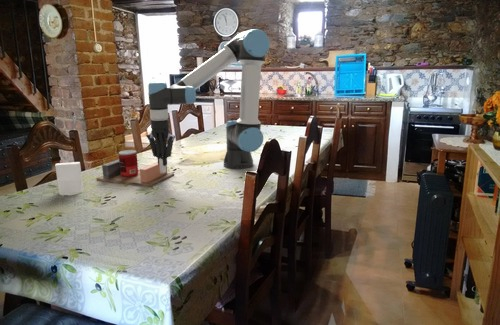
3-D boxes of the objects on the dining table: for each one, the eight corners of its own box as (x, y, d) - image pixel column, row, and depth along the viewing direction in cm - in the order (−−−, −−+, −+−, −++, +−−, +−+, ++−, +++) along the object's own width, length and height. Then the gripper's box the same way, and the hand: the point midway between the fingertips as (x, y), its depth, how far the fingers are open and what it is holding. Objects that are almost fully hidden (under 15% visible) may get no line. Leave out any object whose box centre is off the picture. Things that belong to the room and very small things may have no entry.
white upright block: (57, 196, 147) (52, 167, 144) (61, 189, 155) (57, 161, 152) (81, 194, 149) (78, 165, 146) (85, 187, 158) (81, 160, 155)
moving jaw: (167, 172, 174) (166, 160, 172) (146, 182, 159) (145, 169, 158) (161, 172, 175) (160, 160, 173) (140, 182, 160) (139, 169, 159)
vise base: (174, 175, 174) (173, 160, 172) (151, 186, 158) (150, 171, 156) (123, 170, 184) (121, 156, 182) (96, 180, 167) (95, 165, 166)
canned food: (141, 172, 175) (139, 149, 172) (134, 177, 167) (132, 153, 165) (125, 172, 176) (123, 149, 173) (117, 177, 168) (115, 153, 165)
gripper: (177, 118, 160) (180, 171, 166) (151, 117, 164) (155, 168, 170) (168, 121, 153) (171, 176, 159) (141, 119, 157) (145, 173, 163)
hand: (163, 172), depth 165 cm, fingers closed
